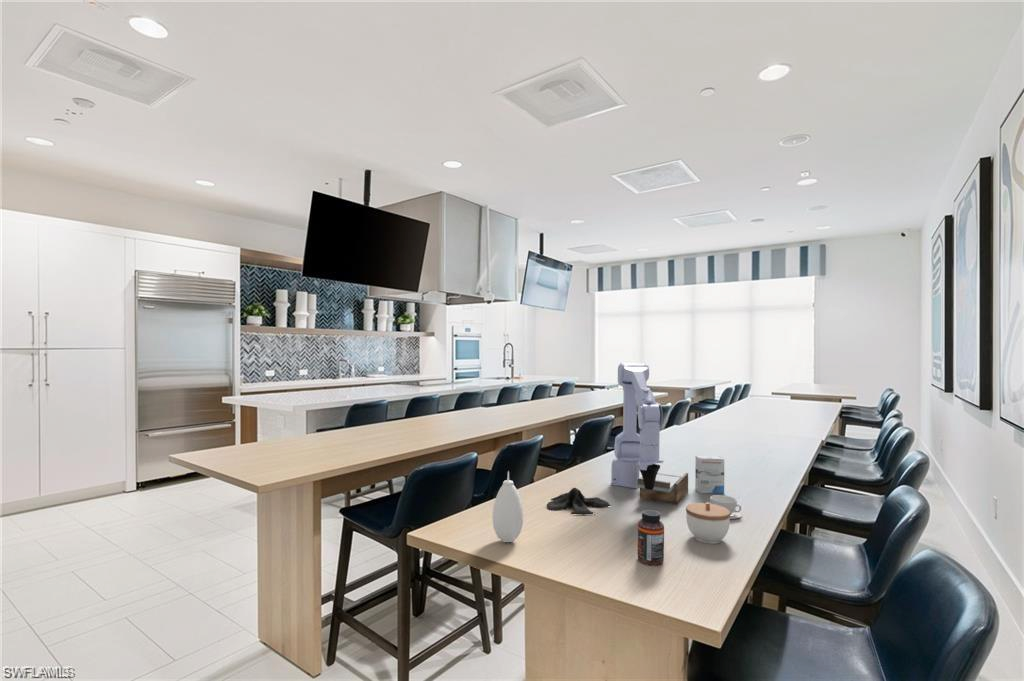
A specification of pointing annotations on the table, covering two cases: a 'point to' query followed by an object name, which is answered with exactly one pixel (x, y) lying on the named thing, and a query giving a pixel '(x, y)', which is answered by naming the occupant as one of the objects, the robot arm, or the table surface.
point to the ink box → (709, 474)
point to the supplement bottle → (650, 538)
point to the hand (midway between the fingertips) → (649, 489)
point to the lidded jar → (707, 521)
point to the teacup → (727, 504)
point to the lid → (661, 483)
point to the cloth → (576, 502)
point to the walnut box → (667, 497)
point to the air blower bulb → (507, 512)
